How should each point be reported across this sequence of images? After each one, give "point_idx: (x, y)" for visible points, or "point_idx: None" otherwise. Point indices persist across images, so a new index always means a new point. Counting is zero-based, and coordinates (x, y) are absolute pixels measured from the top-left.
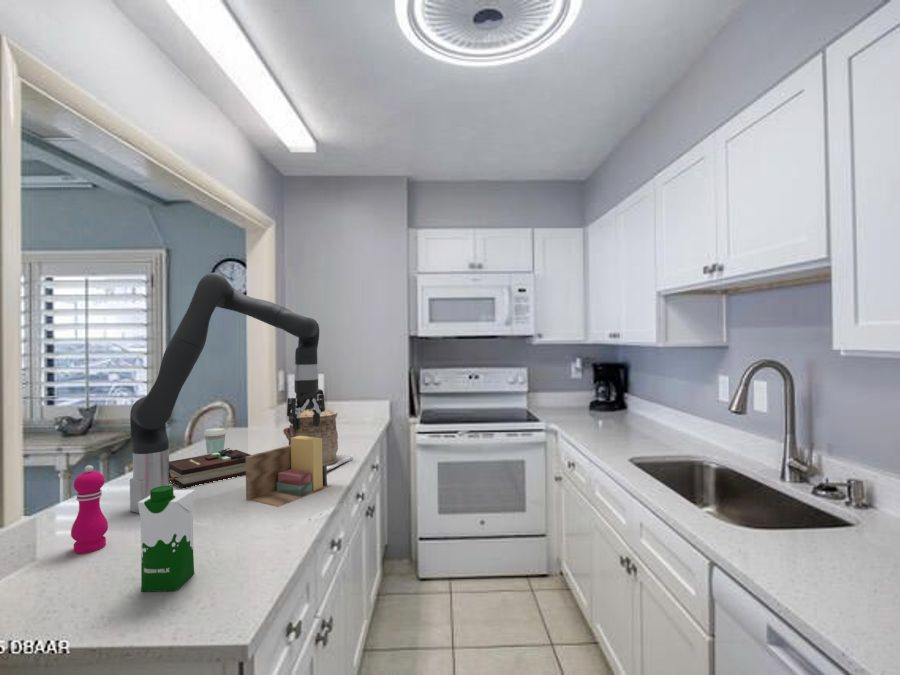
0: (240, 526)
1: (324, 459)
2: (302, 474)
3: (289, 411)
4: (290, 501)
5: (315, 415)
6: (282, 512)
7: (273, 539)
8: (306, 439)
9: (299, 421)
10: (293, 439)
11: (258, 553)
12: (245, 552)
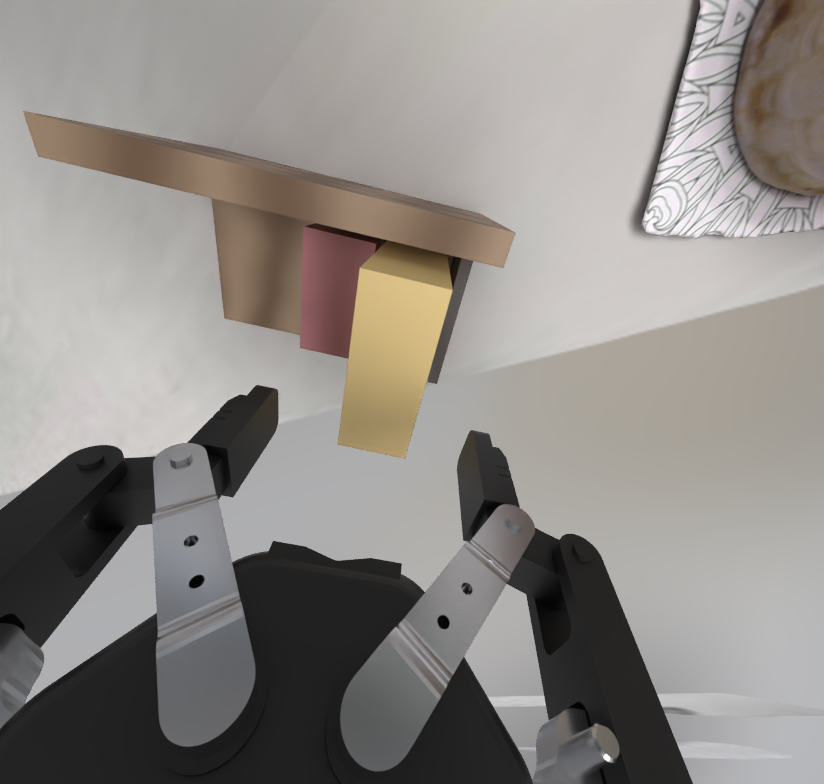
0: (109, 280)
1: (792, 167)
2: (326, 344)
3: (57, 508)
4: (272, 325)
5: (471, 515)
6: (236, 325)
7: (128, 396)
8: (352, 399)
9: (242, 473)
10: (358, 293)
11: (78, 405)
12: (60, 382)
